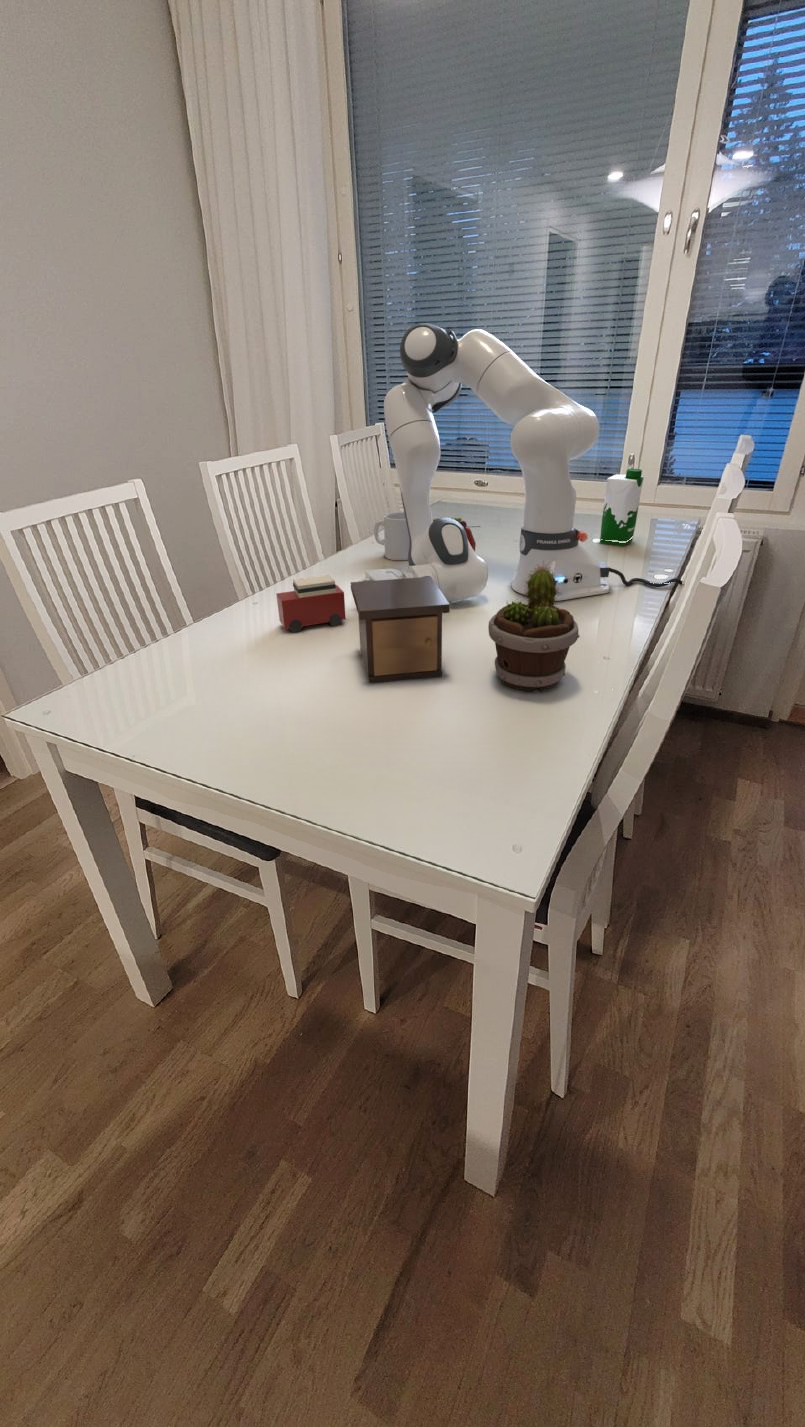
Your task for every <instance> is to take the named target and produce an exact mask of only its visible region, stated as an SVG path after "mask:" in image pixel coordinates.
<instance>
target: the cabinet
mask: <svg viewBox="0 0 805 1427" xmlns="http://www.w3.org/2000/svg"><path fill="white" fill-rule="evenodd" d="M350 591H351V594H352V598H353V602H354V605H355V607H356V611H357V616H358V631H359V632H358V633H359V649H360V650H359V651H360V655H361V659H362V663H363V666H364V671H365V674H366V677H367V681H368V684H380V683H390V682H400V681H401V682H402V681H410V680H412V681H413V680H422V679H423V680H424V679H433V678H442V677H443V669H442V663H443V659H442V658H443V614H450V610H451V604H450V603H449V601H447V600H446V598H445V597H444V595H443V594H442V592H441V591H440V589H439V588H438V586H437V585H436V583H435V582H434V580H433V579H432V577H419V578H405V579H391V580H376V581H362V582H358V581H351V582H350Z"/></svg>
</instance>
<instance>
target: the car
mask: <svg viewBox="0 0 805 1427" xmlns="http://www.w3.org/2000/svg"><path fill="white" fill-rule="evenodd" d="M292 587H293V590H292V591H285V592H283V591H282V592H278V593H277V592H276V593H275V595H276V602H277V603H276V604H277V611H278V619H279V620H278V621H279V622H280V624H281V625H282V627H283V629H285V630H287V629H289V630H290V631H291V632H292V633H298V632H301V630H302V628H303V627H306V626H312V625H320V624H325V623H329V624H330V625H331V626H334V627H336V626H339V625H340V624H341V622H342V621H343V620H346V603H345V601H346V600H345V591H344V590H343V589H341V587H340V586H339V585H338V584H336V581H335V580H334V578H333V577H332V576H330V574H323V575H317V576H309V577H301V578H295V579H292Z"/></svg>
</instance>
